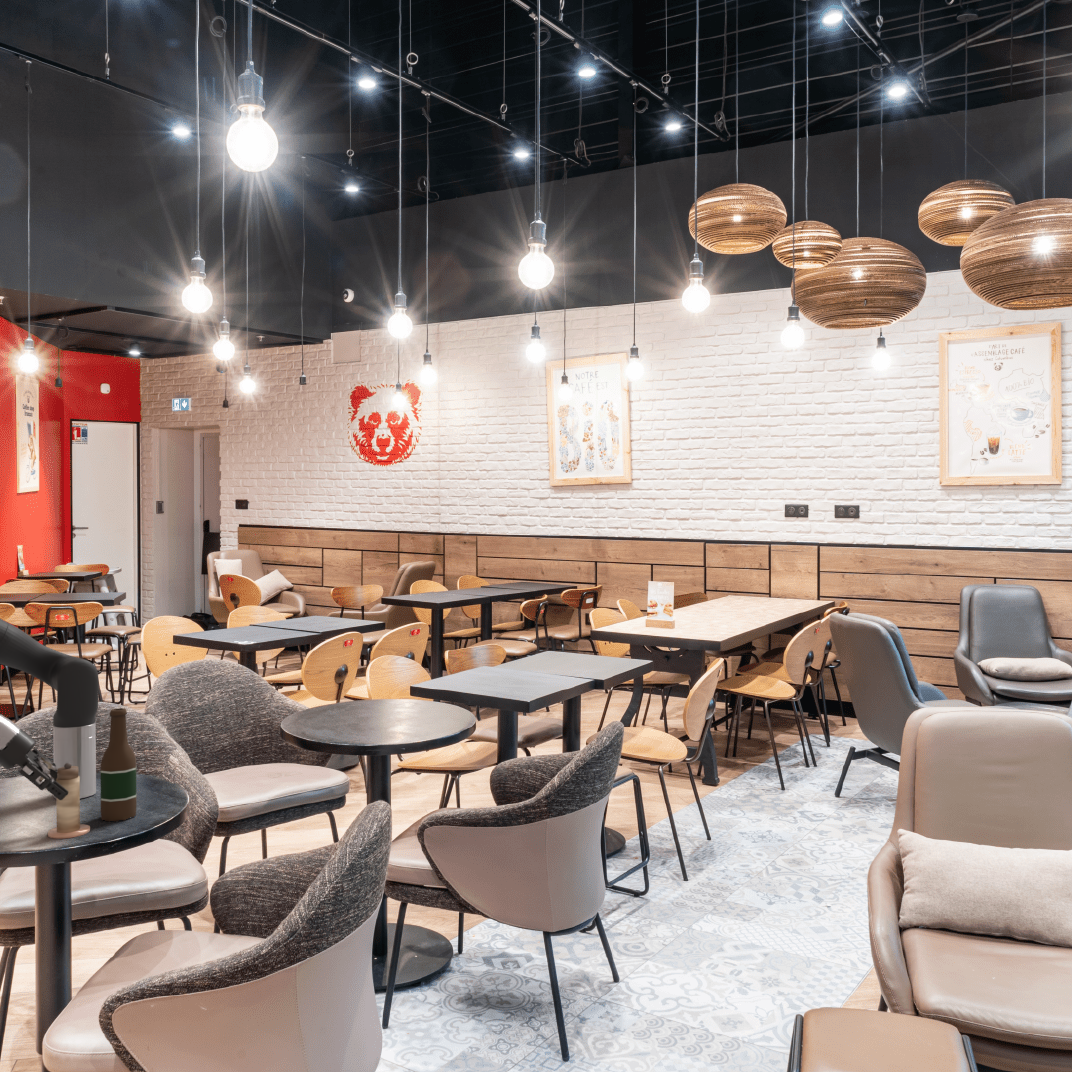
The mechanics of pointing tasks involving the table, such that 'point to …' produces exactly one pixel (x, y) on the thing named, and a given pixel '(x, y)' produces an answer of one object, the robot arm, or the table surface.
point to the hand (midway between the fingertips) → (66, 791)
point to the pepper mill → (68, 799)
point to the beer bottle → (118, 772)
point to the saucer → (81, 831)
